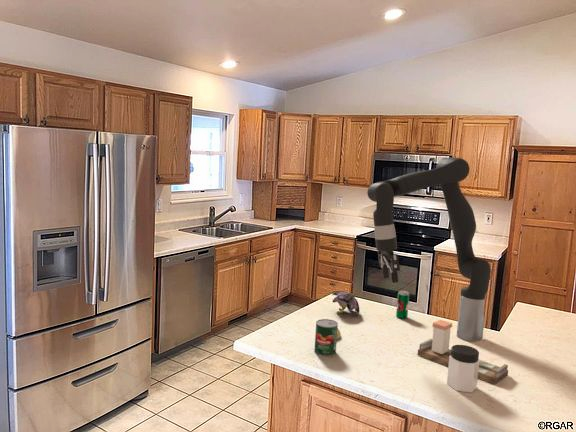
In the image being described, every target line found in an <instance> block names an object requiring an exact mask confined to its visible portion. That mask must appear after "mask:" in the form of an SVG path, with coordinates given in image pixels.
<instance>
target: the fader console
mask: <svg viewBox="0 0 576 432" xmlns="http://www.w3.org/2000/svg"><path fill="white" fill-rule="evenodd" d="M432 340H433V338H429V339H427V340H424V341H423V342H421V343H419V349H417V356H419V357H422V358H425V359H427V360H430V361H433V362H434V363H438V364H440V365H442V366H445V367H448V366H449V356H450V355H451V348H450V349H449V351H447V352H445V353H444V354H439V353H437V352H434V351H432ZM508 366H509V365H508V364H505V363H504V364H503V365H502V366H499V365H495V364H493V363H490V362H487V361H484V360H482V359H481V360H480V359H479V369H478V378H477V379H480V380H482V381H485V382H487V383H490V384H493V385H495V386H496V385H497V384H499V383H500V382H501V381H503V380H504V379H505V378H506V377H508V375H509V370H508Z"/></svg>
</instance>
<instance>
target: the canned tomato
mask: <svg viewBox="0 0 576 432" xmlns="http://www.w3.org/2000/svg"><path fill="white" fill-rule="evenodd" d="M338 325H339V323H338V322H337V321H336V320H333V319H328V318H324V319H323V318H322V319H318V320H316V322H315V336H314V337H315V338H314V350H313V351H314V353H315V355H317V356H320V357H324V358H326V357H327V358H329V357H333V356H335V355H336V354H337V344H338V343H337V341H338V339H337V329H339V327H338Z"/></svg>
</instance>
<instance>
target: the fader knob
mask: <svg viewBox="0 0 576 432" xmlns="http://www.w3.org/2000/svg"><path fill="white" fill-rule="evenodd" d="M432 327H433V330H432V331H433V332H432V339H433V340H432V351H434V352H437V353H439V354H444V353H445V352H447V351H449V348H450V341H451V339H450V338H451V328H452V327H453V323H452V322H449V321H446V320H443V319H438V320H436V321H434V322H432Z"/></svg>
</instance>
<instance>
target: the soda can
mask: <svg viewBox="0 0 576 432" xmlns="http://www.w3.org/2000/svg"><path fill="white" fill-rule="evenodd" d="M409 304H410V292H409V291H407V290H398V293H397V300H396V313H395V314H396V315H395V316H396V317H397V318H398V319H401V320H406V319H407V318H408V314H409Z"/></svg>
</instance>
